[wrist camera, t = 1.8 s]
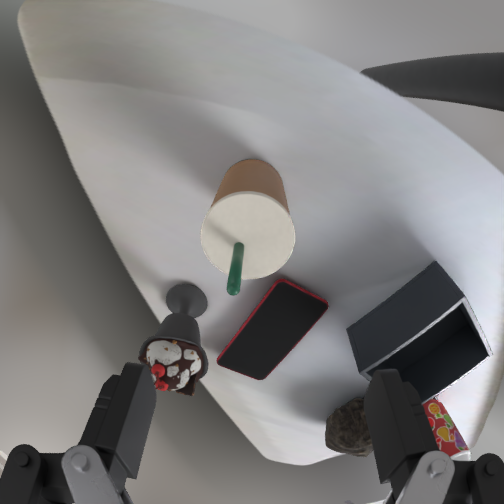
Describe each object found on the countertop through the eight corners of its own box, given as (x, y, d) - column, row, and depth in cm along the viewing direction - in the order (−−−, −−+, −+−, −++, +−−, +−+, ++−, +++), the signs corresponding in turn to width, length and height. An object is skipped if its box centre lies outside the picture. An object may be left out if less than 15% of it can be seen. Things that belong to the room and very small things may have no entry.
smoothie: (396, 423, 50) (427, 511, 32) (419, 394, 46) (460, 488, 28) (428, 419, 51) (461, 498, 33) (451, 392, 47) (492, 475, 29)
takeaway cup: (252, 144, 29) (242, 200, 14) (297, 190, 31) (329, 284, 16) (207, 189, 31) (160, 281, 17) (252, 230, 33) (244, 345, 19)
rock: (319, 437, 50) (335, 480, 40) (316, 396, 46) (335, 442, 37) (372, 421, 50) (393, 459, 41) (375, 378, 47) (402, 419, 37)
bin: (435, 259, 34) (465, 295, 28) (470, 320, 39) (493, 354, 32) (346, 329, 39) (358, 373, 32) (395, 374, 44) (408, 412, 37)
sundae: (159, 272, 36) (123, 369, 22) (218, 282, 36) (209, 385, 23) (157, 317, 39) (128, 415, 25) (210, 327, 39) (201, 428, 26)
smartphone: (332, 304, 36) (262, 382, 42) (330, 300, 37) (261, 377, 43) (279, 277, 35) (213, 363, 40) (278, 273, 35) (214, 358, 41)
